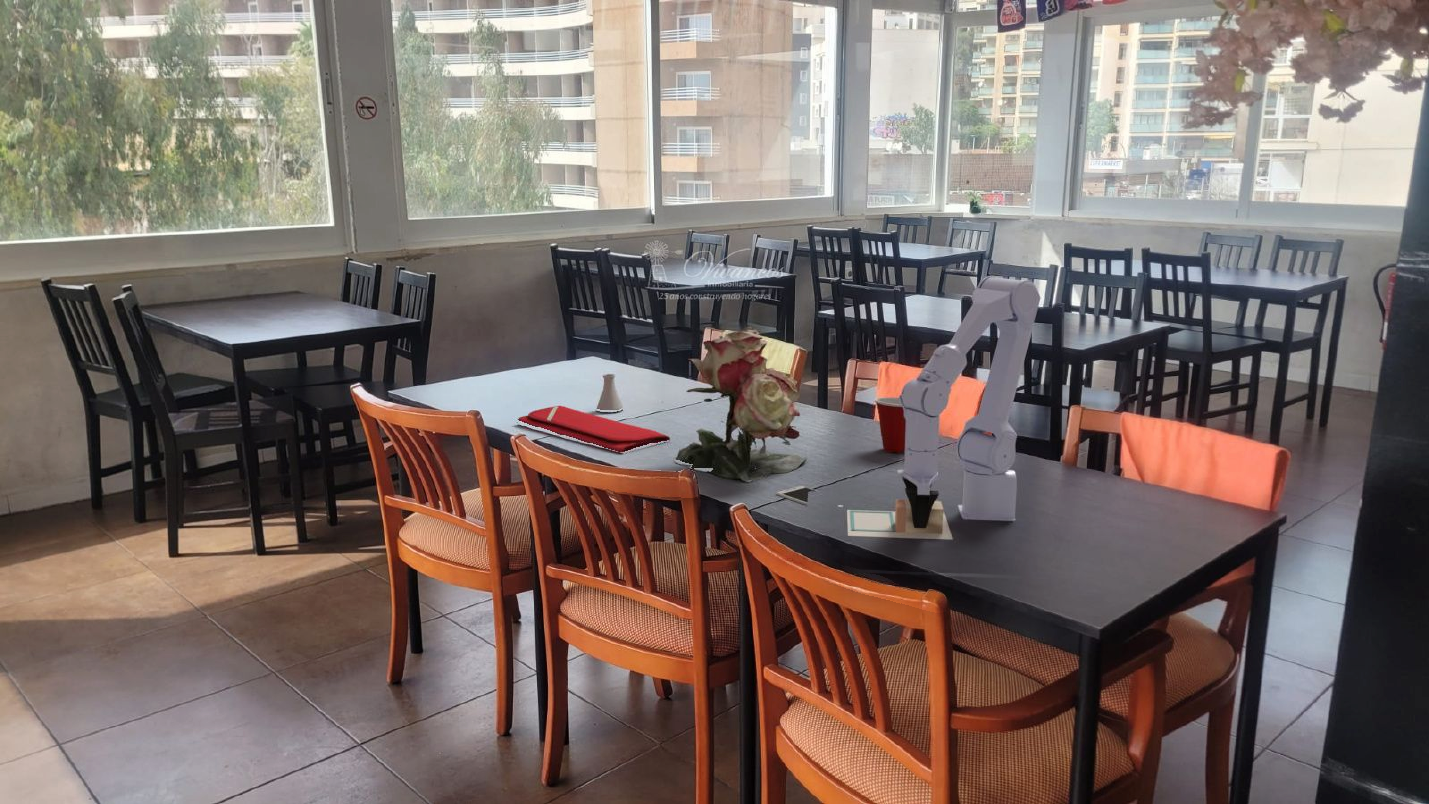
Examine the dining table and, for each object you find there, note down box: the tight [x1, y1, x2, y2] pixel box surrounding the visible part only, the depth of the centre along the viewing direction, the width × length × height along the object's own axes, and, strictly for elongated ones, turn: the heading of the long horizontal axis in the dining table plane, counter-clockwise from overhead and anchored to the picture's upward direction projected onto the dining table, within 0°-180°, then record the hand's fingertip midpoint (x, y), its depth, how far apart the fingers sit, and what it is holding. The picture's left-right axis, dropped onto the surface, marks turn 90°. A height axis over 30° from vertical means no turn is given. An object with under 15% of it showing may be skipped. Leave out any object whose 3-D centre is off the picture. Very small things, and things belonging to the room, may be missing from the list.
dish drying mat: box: [517, 405, 671, 452], centre depth 248 cm, size 16×41×4 cm, turn 47°
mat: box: [846, 509, 954, 541], centre depth 181 cm, size 18×14×1 cm
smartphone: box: [776, 485, 844, 508], centre depth 196 cm, size 7×15×1 cm, turn 39°
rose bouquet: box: [661, 326, 808, 483], centre depth 219 cm, size 26×29×30 cm
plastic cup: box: [874, 396, 906, 454], centre depth 231 cm, size 11×11×12 cm
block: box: [894, 499, 945, 534], centre depth 178 cm, size 8×5×4 cm, turn 83°
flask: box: [596, 373, 624, 410], centre depth 272 cm, size 7×7×10 cm
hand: (918, 521), depth 178 cm, fingers open, 6 cm apart
